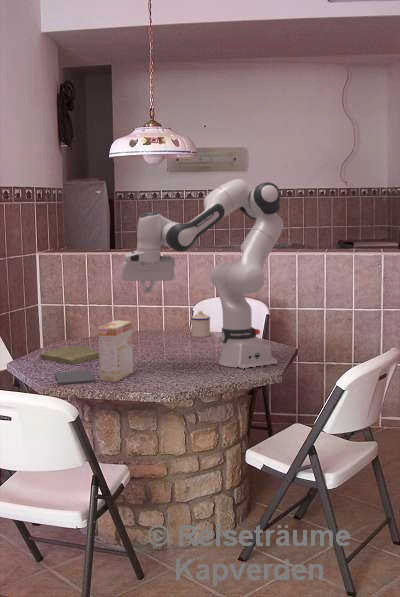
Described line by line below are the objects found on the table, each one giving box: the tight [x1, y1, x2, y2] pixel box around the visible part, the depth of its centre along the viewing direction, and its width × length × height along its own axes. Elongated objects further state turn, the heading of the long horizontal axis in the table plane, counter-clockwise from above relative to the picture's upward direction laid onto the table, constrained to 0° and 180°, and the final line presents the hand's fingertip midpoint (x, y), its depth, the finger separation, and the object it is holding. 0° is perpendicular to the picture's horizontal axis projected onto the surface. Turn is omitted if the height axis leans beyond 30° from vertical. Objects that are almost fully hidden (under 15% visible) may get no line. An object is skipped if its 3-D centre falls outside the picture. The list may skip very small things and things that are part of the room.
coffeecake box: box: [97, 319, 134, 383], centre depth 268 cm, size 15×7×20 cm, turn 162°
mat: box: [54, 369, 96, 386], centre depth 267 cm, size 13×16×1 cm
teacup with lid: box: [184, 310, 211, 338], centre depth 347 cm, size 12×9×12 cm
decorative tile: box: [39, 345, 100, 366], centre depth 302 cm, size 19×20×4 cm
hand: (147, 292), depth 280 cm, fingers closed
